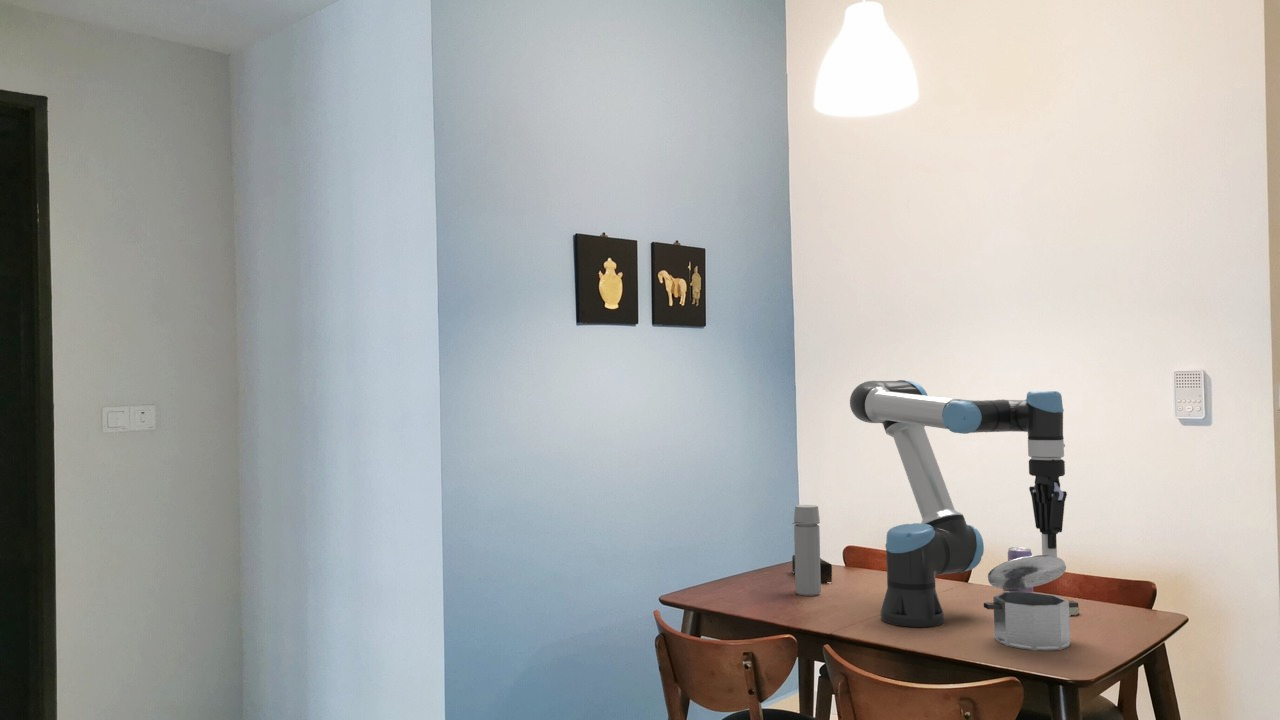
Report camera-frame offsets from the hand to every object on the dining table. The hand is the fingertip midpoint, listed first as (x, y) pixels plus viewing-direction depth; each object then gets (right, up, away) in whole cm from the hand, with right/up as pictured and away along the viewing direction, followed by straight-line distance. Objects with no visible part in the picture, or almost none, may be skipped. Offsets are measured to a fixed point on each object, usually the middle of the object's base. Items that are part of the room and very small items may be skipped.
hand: (1049, 562), depth 207 cm
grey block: (+15, -19, +27) cm, 36 cm away
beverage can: (+8, -20, +35) cm, 41 cm away
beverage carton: (-40, -22, +76) cm, 89 cm away
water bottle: (-46, -21, +54) cm, 73 cm away
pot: (-4, -18, -1) cm, 18 cm away
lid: (-5, -4, +1) cm, 6 cm away
